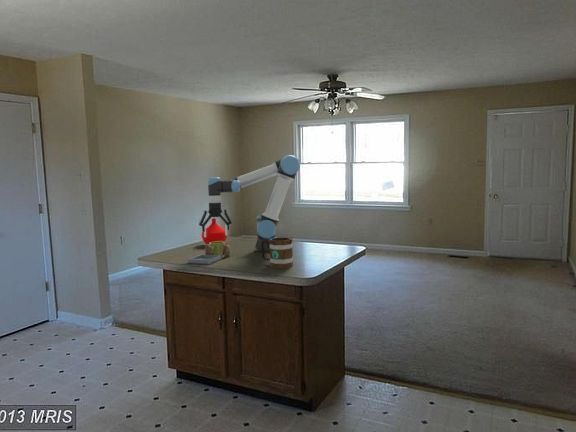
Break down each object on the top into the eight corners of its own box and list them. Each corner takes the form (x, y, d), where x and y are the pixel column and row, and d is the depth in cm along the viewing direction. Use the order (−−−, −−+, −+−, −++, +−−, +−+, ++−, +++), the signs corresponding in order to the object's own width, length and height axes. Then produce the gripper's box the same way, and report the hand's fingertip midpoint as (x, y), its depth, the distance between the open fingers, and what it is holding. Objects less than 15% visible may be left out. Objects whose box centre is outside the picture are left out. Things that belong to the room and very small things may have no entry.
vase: (207, 242, 336) (206, 217, 334) (231, 242, 332) (230, 217, 330) (198, 247, 318) (196, 220, 316) (222, 247, 314) (221, 220, 312)
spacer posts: (236, 254, 289) (235, 243, 288) (222, 259, 273) (221, 248, 272) (212, 252, 295) (212, 242, 295) (198, 258, 280) (197, 246, 279)
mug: (298, 264, 255) (297, 237, 253) (286, 269, 243) (285, 241, 241) (268, 261, 264) (267, 236, 263) (255, 266, 253) (254, 239, 251)
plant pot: (212, 258, 278) (211, 244, 277) (207, 255, 286) (207, 242, 285) (227, 256, 282) (226, 242, 281) (222, 254, 291) (221, 240, 290)
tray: (221, 259, 273) (220, 255, 273) (208, 264, 260) (208, 260, 260) (201, 258, 278) (201, 254, 278) (188, 263, 265) (187, 259, 265)
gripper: (232, 201, 289) (233, 233, 291) (193, 202, 279) (194, 236, 281) (235, 201, 282) (236, 235, 284) (195, 203, 272) (197, 238, 275)
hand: (215, 236), depth 283 cm, fingers open, 13 cm apart
